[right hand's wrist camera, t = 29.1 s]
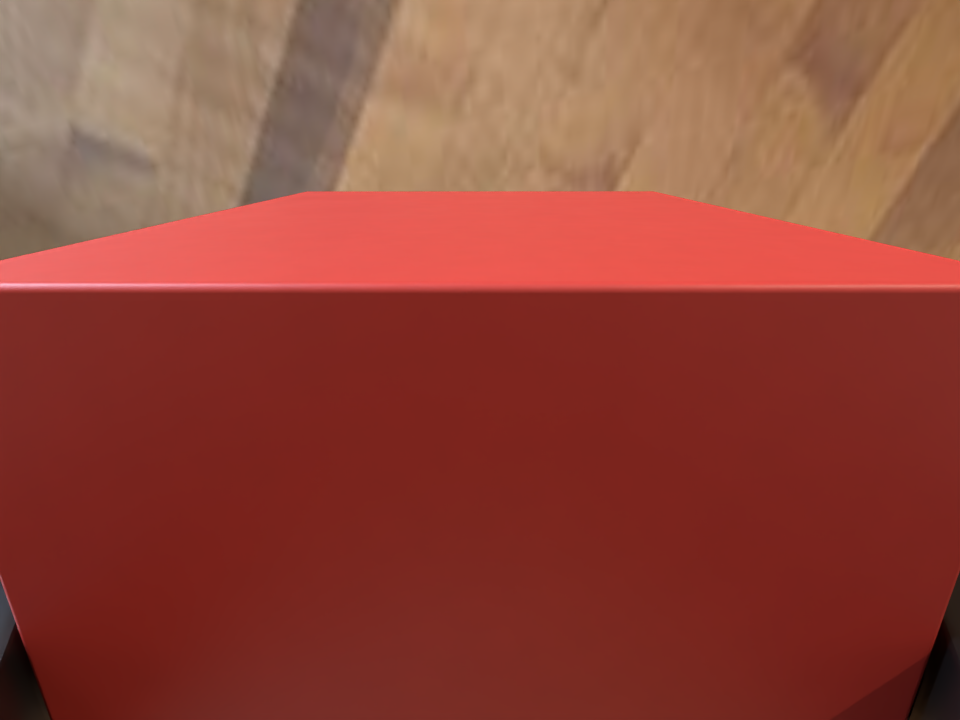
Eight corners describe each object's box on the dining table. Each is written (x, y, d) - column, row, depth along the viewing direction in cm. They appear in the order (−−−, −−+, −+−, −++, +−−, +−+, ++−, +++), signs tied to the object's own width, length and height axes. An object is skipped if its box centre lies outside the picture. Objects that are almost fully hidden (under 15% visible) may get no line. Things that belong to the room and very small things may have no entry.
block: (623, 509, 17) (815, 991, 7) (336, 509, 17) (143, 989, 7) (655, 191, 14) (1067, 282, 4) (304, 191, 14) (-113, 283, 4)
